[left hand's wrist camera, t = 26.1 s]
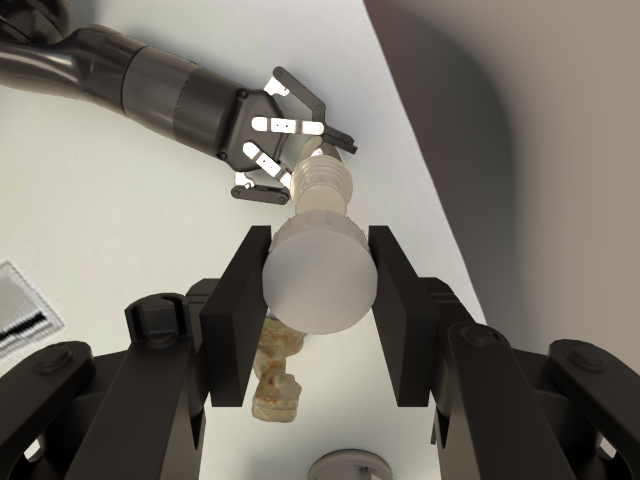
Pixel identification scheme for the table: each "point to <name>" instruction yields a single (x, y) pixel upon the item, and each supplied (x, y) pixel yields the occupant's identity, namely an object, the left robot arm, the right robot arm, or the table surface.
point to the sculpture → (276, 373)
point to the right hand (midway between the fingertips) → (344, 173)
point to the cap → (319, 273)
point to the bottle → (320, 179)
